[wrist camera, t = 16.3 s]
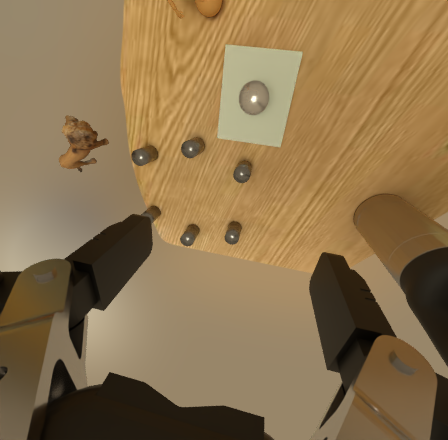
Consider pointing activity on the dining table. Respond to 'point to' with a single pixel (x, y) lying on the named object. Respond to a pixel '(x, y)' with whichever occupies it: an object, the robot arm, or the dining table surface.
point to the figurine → (202, 7)
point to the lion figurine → (79, 143)
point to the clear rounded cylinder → (254, 97)
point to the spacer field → (190, 151)
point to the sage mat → (276, 84)
